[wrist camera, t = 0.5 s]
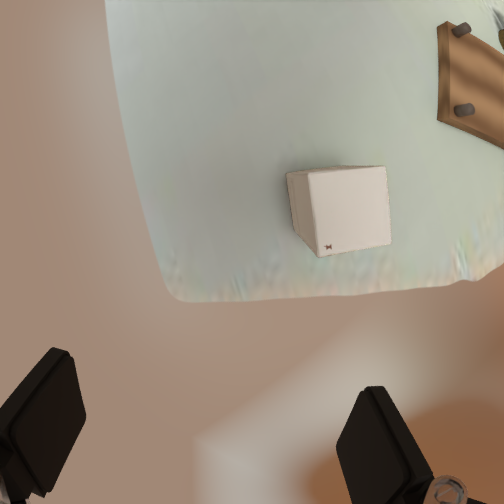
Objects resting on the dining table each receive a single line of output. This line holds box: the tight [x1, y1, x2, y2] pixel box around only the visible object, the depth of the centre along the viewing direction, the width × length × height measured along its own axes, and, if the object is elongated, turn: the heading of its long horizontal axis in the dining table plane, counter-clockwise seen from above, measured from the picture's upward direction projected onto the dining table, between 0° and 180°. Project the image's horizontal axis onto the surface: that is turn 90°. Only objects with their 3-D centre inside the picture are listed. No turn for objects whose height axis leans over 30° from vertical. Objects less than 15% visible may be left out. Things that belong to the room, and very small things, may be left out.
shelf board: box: [437, 21, 504, 149], centre depth 30 cm, size 16×16×6 cm
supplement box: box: [286, 166, 392, 258], centre depth 31 cm, size 7×7×13 cm
